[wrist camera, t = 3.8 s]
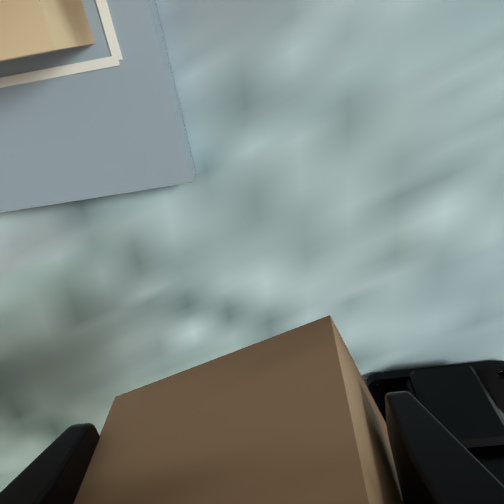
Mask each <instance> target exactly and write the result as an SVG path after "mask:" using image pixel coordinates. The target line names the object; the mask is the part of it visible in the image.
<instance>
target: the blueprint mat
mask: <svg viewBox="0 0 504 504" xmlns="http://www.w3.org/2000/svg"><path fill="white" fill-rule="evenodd" d="M82 3H83V7H84V10H85V13H86V17H87V20H88V23H89V27H90V30H91V33H92V37H93V40H94V43H95V44H90V45H85V46H80V47H75V48H69V49H64V50H59V51H54V52H49V53H44V54H39V55H34V56H29V57H24V58H19V59H14V60H9V61H4V62H0V213H2V212H8V211H15V210H21V209H27V208H34V207H40V206H46V205H53V204H59V203H65V202H72V201H78V200H84V199H91V198H97V197H103V196H110V195H116V194H122V193H129V192H135V191H141V190H148V189H154V188H161V187H167V186H173V185H180V184H186V183H192V181H193V179H194V177H195V175H196V173H195V169H194V164H193V160H192V156H191V152H190V147H189V143H188V139H187V135H186V131H185V126H184V122H183V118H182V114H181V110H180V105H179V101H178V97H177V93H176V89H175V84H174V80H173V76H172V72H171V67H170V63H169V59H168V55H167V51H166V46H165V42H164V38H163V34H162V30H161V25H160V21H159V17H158V13H157V9H156V4H155V0H82Z"/></svg>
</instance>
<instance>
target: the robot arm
mask: <svg viewBox="0 0 504 504" xmlns="http://www.w3.org/2000/svg"><path fill="white" fill-rule="evenodd" d="M500 371H502V372H500ZM498 372H500V373H498ZM378 383H379V384H380V385H378V386H377V385H376V384H378ZM366 384H367V388H368V390H369V392H370V394H371V396H372V397H373V399H374V401H375V403H376V405H377V407H378V409H379V411H380V413H381V415H382V417H383V419H384V421H385V423H386V426H387V433H388V438H389V442H390V447H391V451H392V455H393V460H394V464H395V469H396V473H397V477H398V482H399V486H400V491H401V495H402V499H403V504H504V361H491V362H481V363H472V364H462V365H452V366H443V367H433V368H424V369H414V370H405V371H395V372H386V373H377V374H373V375H371V376H369V377H368V379H367V382H366ZM99 439H100V436H99V434H98V432H97V430H96V428H95V426H94V425H93V424H91V423H85V424H76V425H72V426H70V427H69V428H67V429H66V430H65V431H64V432H63V433H62V434H61V435H60V436H59V437H58V438H57V439H56V440H55V441H54V442H53V443H52V444H51V445H50V446H49V447H47V448H46V449H45V450H44V451H43V452H42V453H41V454H40V455H39V456H38V457H37V458H36V459H35V460H34V461H33V462H32V463H31V464H30V465H29V466H28V467H27V468H26V469H24V470H23V471H22V472H21V473H20V474H19V475H18V476H17V477H16V478H15V479H14V480H13V481H12V482H11V483H10V484H9V485H8V486H7V487H6V488H5V489H4V490H3V491H1V492H0V504H74V501H75V499H76V496H77V494H78V491H79V489H80V486H81V484H82V481H83V479H84V476H85V474H86V471H87V469H88V466H89V464H90V461H91V459H92V456H93V454H94V451H95V449H96V446H97V444H98V441H99Z"/></svg>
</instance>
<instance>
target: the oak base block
mask: <svg viewBox="0 0 504 504" xmlns="http://www.w3.org/2000/svg"><path fill="white" fill-rule="evenodd" d="M90 44H95V43H94V40H93V37H92V33H91V30H90V27H89V23H88V20H87V17H86V13H85V10H84V7H83V3H82V0H0V62H4V61H9V60H14V59H19V58H24V57H29V56H34V55H39V54H44V53H49V52H54V51H59V50H64V49H69V48H75V47H80V46H85V45H90Z"/></svg>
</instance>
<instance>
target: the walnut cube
mask: <svg viewBox="0 0 504 504" xmlns="http://www.w3.org/2000/svg"><path fill="white" fill-rule="evenodd" d="M74 504H403V499H402V495H401V491H400V486H399V482H398V477H397V473H396V469H395V464H394V460H393V455H392V451H391V447H390V442H389V438H388V433H387V426H386V423H385V421H384V419H383V417H382V415H381V413H380V411H379V409H378V407H377V405H376V403H375V401H374V399H373V397H372V396H371V394H370V392H369V390H368V388H367V386H366V384H365V382H364V380H363V378H362V376H361V374H360V372H359V370H358V368H357V366H356V365H355V363H354V361H353V359H352V357H351V355H350V353H349V351H348V349H347V347H346V345H345V343H344V341H343V339H342V337H341V336H340V334H339V332H338V330H337V328H336V326H335V324H334V322H333V320H332V318H331V316H330V315H329V316H327V317H324V318H321V319H319V320H316V321H314V322H311V323H308V324H306V325H303V326H300V327H298V328H295V329H293V330H290V331H287V332H285V333H282V334H280V335H277V336H274V337H272V338H269V339H266V340H264V341H261V342H259V343H256V344H253V345H251V346H248V347H245V348H243V349H240V350H238V351H235V352H232V353H230V354H227V355H225V356H222V357H219V358H217V359H214V360H211V361H209V362H206V363H204V364H201V365H198V366H196V367H193V368H190V369H188V370H185V371H183V372H180V373H177V374H175V375H172V376H169V377H167V378H164V379H162V380H159V381H156V382H154V383H151V384H149V385H146V386H143V387H141V388H138V389H135V390H133V391H130V392H128V393H125V394H122V395H120V396H117V397H115V399H114V401H113V404H112V406H111V409H110V411H109V414H108V417H107V419H106V422H105V424H104V427H103V429H102V432H101V434H100V439H99V441H98V444H97V446H96V449H95V451H94V454H93V456H92V459H91V461H90V464H89V466H88V469H87V471H86V474H85V476H84V479H83V481H82V484H81V486H80V489H79V491H78V494H77V496H76V499H75V501H74Z"/></svg>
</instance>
